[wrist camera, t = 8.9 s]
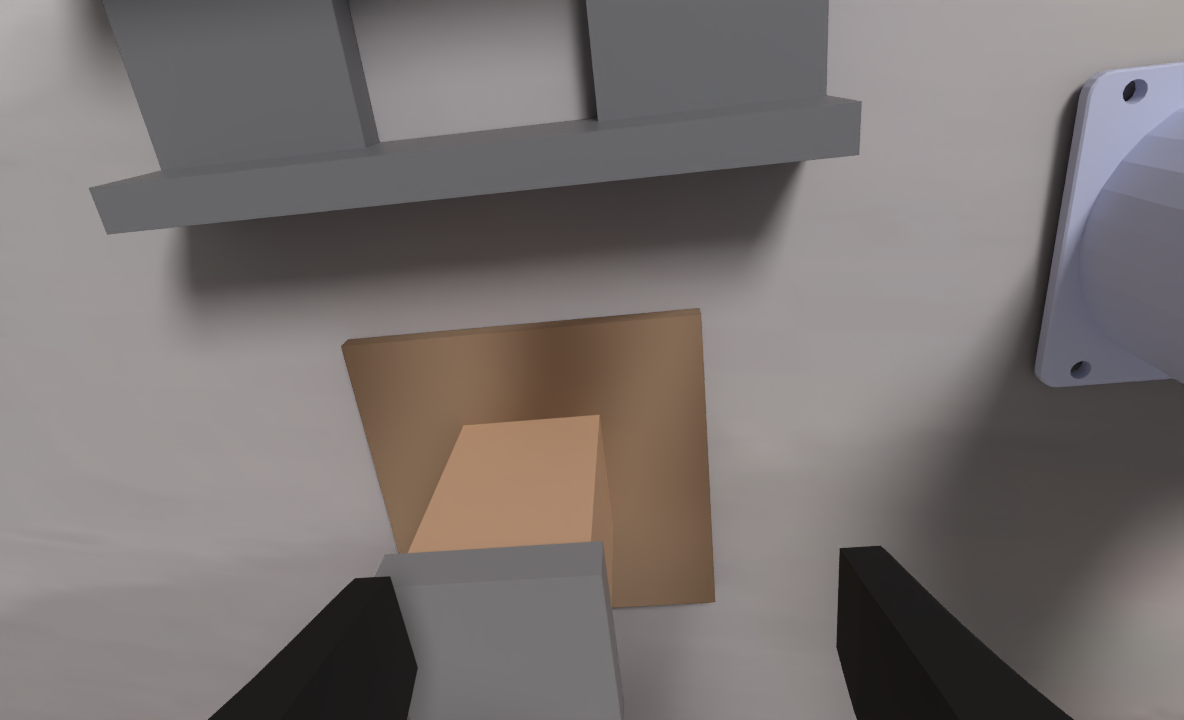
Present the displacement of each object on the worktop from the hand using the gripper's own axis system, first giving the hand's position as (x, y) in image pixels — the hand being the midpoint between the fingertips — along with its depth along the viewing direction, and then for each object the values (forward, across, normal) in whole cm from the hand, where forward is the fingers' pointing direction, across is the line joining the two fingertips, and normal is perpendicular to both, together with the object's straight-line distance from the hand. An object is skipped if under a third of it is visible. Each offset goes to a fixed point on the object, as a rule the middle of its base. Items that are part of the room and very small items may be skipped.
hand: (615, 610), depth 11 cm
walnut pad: (+9, +3, +3) cm, 10 cm away
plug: (+9, +3, +3) cm, 10 cm away
